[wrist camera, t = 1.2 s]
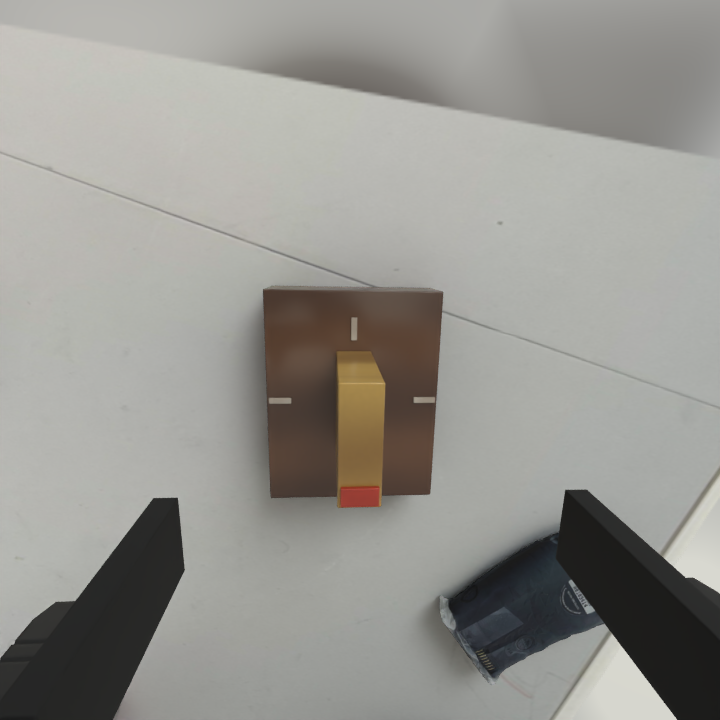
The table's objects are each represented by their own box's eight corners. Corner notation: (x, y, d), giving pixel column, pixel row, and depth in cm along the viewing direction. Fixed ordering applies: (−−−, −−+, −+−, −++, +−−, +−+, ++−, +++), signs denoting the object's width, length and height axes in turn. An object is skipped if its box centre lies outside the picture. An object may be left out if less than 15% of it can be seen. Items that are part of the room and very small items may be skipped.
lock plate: (271, 285, 28) (262, 289, 24) (430, 287, 29) (444, 291, 25) (276, 472, 31) (270, 499, 28) (419, 470, 32) (431, 496, 28)
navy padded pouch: (483, 648, 38) (640, 585, 35) (494, 708, 33) (682, 641, 30) (432, 569, 37) (589, 497, 34) (435, 618, 32) (622, 538, 29)
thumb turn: (336, 350, 26) (338, 384, 19) (371, 350, 26) (386, 384, 19) (335, 446, 27) (337, 511, 20) (368, 446, 27) (381, 510, 20)
